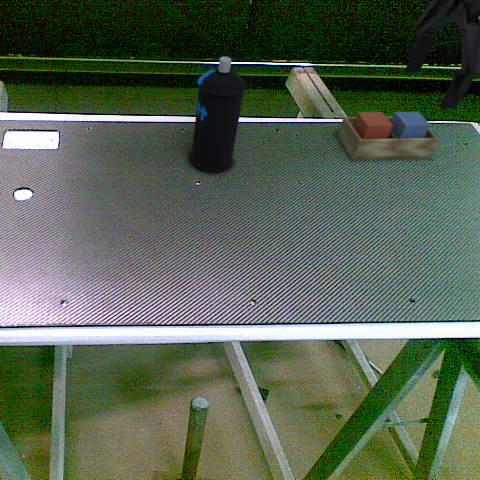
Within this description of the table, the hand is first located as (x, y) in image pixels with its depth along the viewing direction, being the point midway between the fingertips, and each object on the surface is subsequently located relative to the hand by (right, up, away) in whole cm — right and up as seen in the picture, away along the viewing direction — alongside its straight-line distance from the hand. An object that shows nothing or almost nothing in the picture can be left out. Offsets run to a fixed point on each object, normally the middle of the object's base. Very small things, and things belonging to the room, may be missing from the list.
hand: (428, 88), depth 88 cm
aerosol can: (-40, -13, +3) cm, 42 cm away
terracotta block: (-8, -8, +8) cm, 14 cm away
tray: (-5, -9, +9) cm, 13 cm away
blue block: (-1, -8, +8) cm, 12 cm away
